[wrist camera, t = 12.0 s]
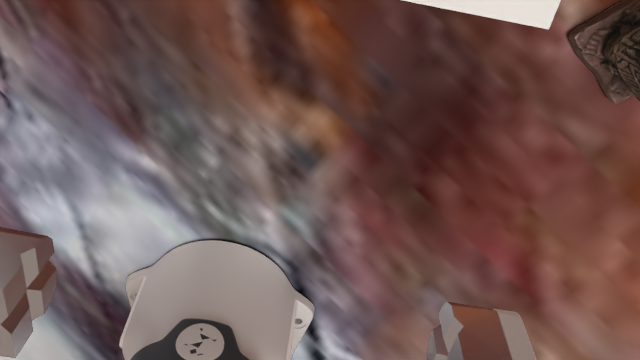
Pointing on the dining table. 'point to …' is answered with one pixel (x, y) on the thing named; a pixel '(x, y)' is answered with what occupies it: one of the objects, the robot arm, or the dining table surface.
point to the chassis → (503, 9)
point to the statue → (612, 49)
